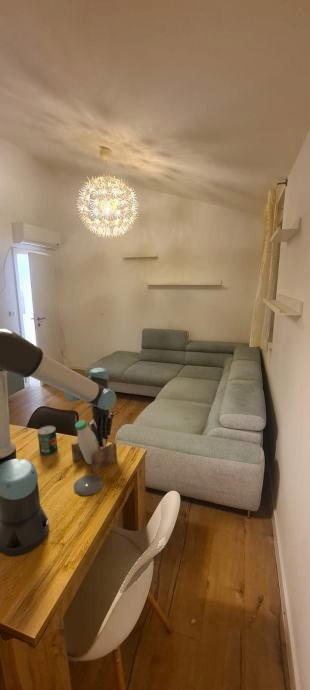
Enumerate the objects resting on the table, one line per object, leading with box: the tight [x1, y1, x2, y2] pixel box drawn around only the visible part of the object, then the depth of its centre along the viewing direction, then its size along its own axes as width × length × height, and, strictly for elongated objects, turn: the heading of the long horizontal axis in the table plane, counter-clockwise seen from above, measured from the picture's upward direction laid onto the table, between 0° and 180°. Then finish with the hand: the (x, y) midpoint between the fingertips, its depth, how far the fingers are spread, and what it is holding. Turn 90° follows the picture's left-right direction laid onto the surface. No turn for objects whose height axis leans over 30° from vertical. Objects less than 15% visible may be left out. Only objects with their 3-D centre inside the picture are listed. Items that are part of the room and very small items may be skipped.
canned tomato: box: [37, 425, 59, 457], centre depth 136 cm, size 8×8×11 cm
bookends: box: [70, 440, 118, 475], centre depth 130 cm, size 12×16×8 cm
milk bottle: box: [74, 419, 101, 465], centre depth 126 cm, size 8×8×20 cm
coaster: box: [73, 474, 104, 497], centre depth 115 cm, size 11×11×1 cm
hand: (103, 451), depth 134 cm, fingers closed
